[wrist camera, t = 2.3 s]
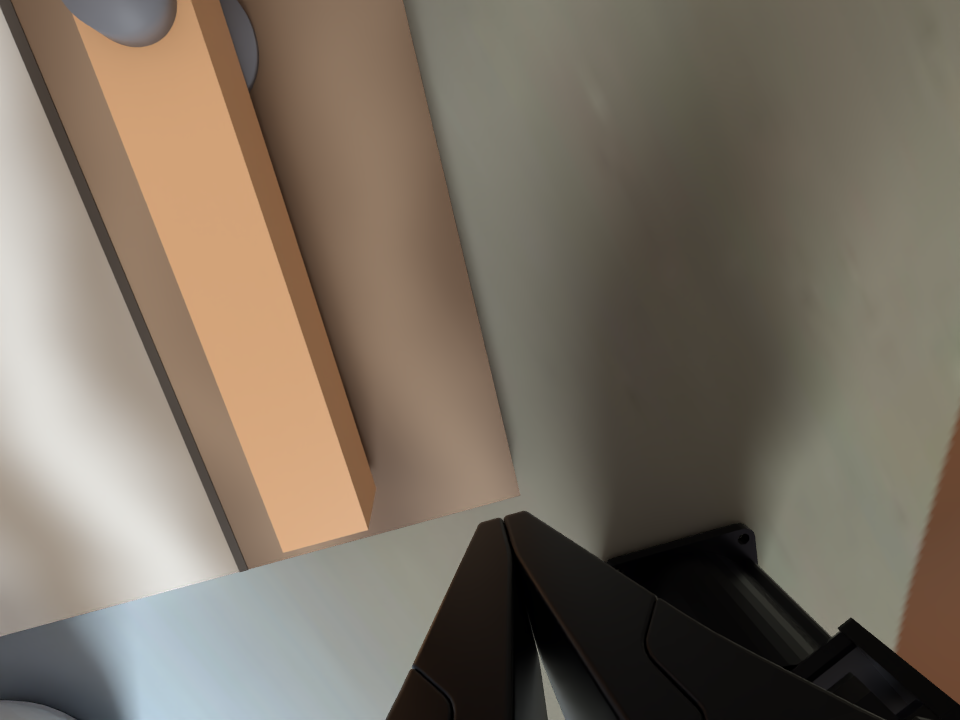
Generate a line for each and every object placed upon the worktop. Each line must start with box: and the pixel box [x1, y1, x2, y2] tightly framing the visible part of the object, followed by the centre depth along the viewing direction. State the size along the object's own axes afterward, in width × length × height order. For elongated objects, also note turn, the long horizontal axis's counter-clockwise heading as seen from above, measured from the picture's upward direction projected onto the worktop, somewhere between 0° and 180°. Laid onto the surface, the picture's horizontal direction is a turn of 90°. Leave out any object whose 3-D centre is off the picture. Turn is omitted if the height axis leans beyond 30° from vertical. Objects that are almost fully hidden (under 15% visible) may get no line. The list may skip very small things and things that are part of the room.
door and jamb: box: [0, 0, 520, 637], centre depth 14 cm, size 22×23×4 cm
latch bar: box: [62, 0, 376, 553], centre depth 13 cm, size 16×2×3 cm, turn 13°
